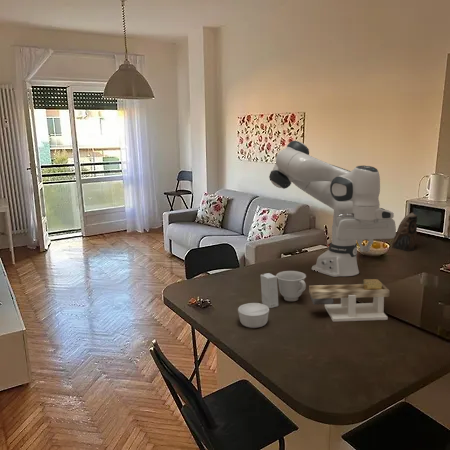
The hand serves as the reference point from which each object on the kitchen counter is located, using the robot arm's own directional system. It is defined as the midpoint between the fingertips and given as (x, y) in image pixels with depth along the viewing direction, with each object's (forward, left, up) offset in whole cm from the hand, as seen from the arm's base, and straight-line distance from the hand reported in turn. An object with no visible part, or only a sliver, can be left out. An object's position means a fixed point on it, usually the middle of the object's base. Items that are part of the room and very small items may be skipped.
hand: (364, 251), depth 145 cm
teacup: (-27, -6, -23) cm, 36 cm away
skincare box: (-31, -16, -23) cm, 42 cm away
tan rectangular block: (+2, +2, -15) cm, 15 cm away
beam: (-4, -4, -18) cm, 19 cm away
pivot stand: (-2, -2, -23) cm, 23 cm away
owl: (-26, +98, -24) cm, 104 cm away
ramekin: (-25, -32, -24) cm, 47 cm away
